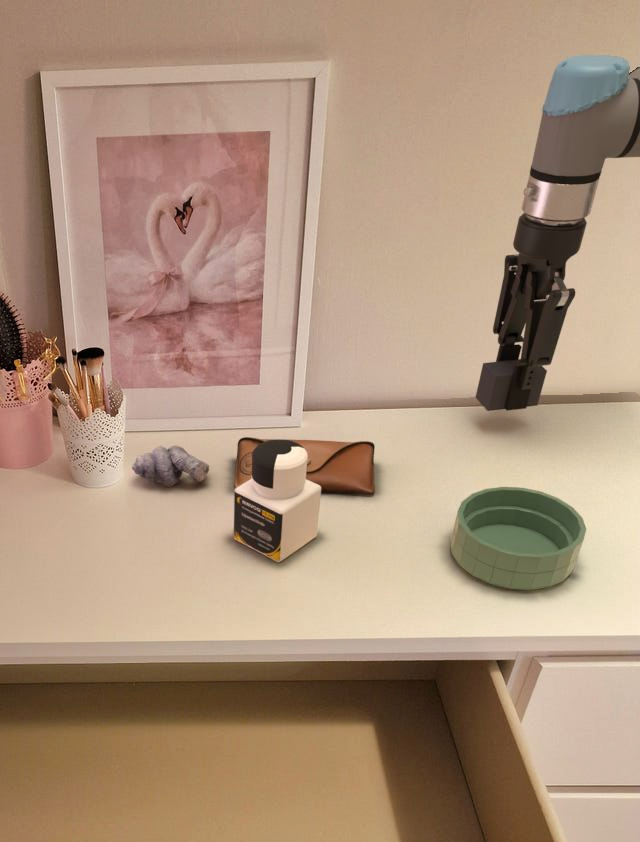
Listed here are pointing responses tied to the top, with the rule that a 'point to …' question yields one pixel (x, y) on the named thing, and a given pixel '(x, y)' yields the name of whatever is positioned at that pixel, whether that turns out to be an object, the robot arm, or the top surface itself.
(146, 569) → the top surface
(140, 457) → the seashell
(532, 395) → the eraser
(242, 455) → the sunglasses case
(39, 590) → the top surface
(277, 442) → the medicine bottle
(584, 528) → the bowl
